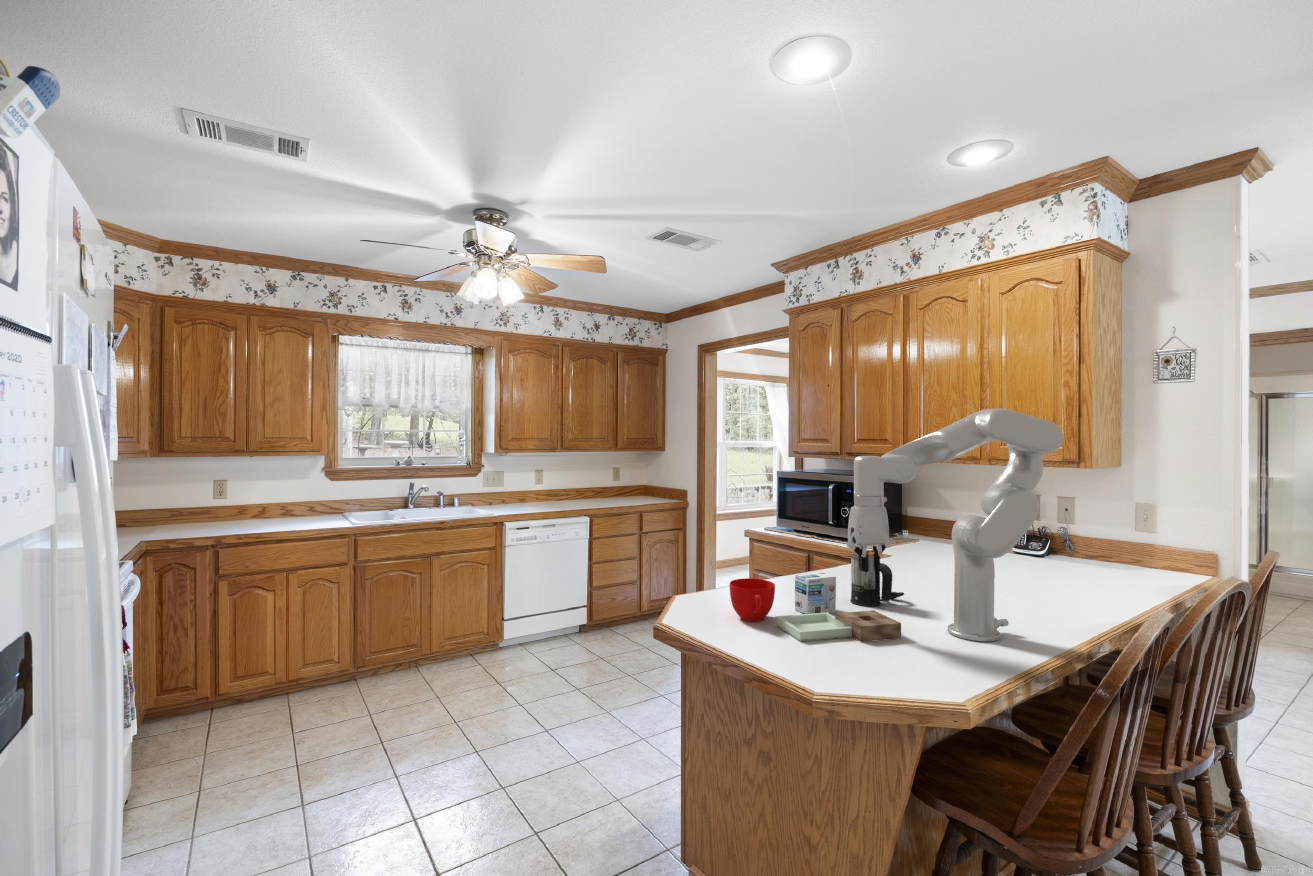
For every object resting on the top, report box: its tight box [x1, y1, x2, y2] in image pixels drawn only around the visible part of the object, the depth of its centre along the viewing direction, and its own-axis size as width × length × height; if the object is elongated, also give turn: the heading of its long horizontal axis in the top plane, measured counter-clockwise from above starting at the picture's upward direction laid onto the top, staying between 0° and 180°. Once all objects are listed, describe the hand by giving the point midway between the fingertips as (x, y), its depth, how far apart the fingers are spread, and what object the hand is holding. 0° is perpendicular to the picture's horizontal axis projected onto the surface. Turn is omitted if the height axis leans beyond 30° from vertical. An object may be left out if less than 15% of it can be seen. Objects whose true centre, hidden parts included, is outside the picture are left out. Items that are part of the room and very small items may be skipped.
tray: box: [774, 612, 852, 643], centre depth 167 cm, size 16×14×2 cm
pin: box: [864, 549, 875, 590], centre depth 165 cm, size 3×3×10 cm
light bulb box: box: [794, 571, 837, 614], centre depth 186 cm, size 11×7×11 cm, turn 114°
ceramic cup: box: [729, 577, 776, 622], centre depth 176 cm, size 13×17×10 cm
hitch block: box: [834, 609, 902, 642], centre depth 165 cm, size 12×12×4 cm
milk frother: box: [849, 553, 905, 607], centre depth 196 cm, size 14×16×15 cm
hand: (869, 570), depth 165 cm, fingers closed on pin, 2 cm apart
